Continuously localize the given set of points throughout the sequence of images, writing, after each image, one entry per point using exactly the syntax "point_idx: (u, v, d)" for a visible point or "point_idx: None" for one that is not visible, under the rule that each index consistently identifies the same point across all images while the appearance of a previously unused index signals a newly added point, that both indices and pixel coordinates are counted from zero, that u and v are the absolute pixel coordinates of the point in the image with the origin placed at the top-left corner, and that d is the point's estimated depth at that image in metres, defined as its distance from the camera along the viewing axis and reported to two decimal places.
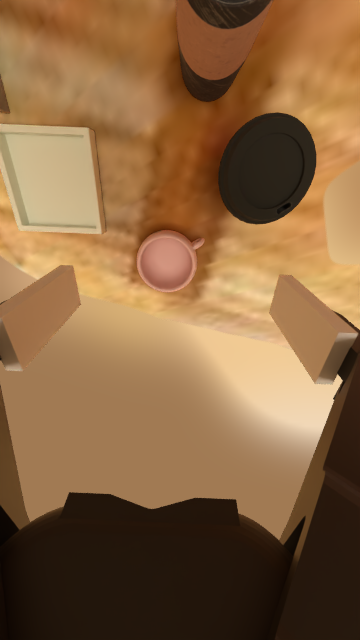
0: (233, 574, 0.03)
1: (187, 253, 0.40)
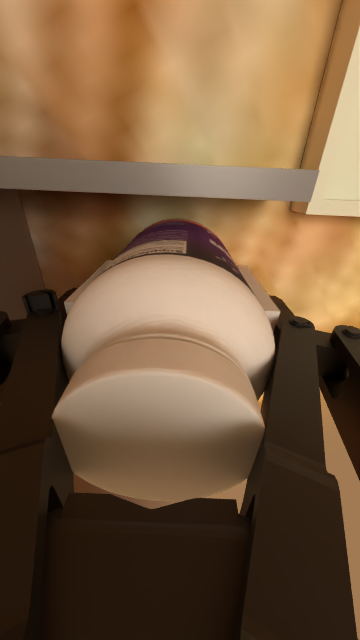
0: (233, 573, 0.03)
1: None
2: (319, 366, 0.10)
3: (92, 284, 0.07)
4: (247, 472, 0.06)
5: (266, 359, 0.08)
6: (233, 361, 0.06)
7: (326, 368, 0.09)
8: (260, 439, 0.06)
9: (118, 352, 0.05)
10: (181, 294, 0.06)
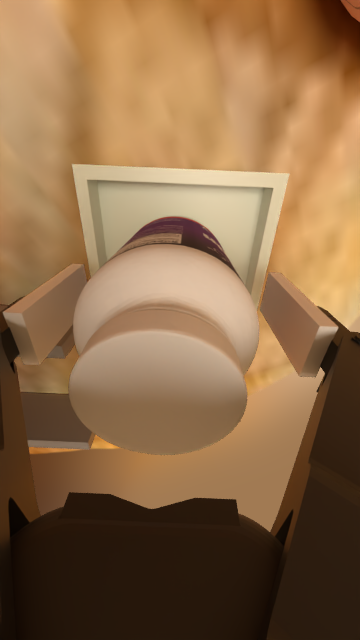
0: (233, 574, 0.03)
1: None
2: None
3: (100, 270, 0.09)
4: (232, 424, 0.08)
5: (250, 334, 0.09)
6: (219, 330, 0.07)
7: None
8: (241, 392, 0.07)
9: (125, 320, 0.06)
10: (176, 275, 0.08)
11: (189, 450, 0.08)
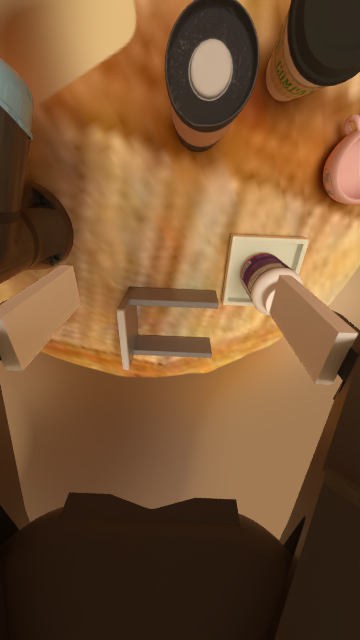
0: (233, 574, 0.03)
1: None
2: None
3: (266, 273, 0.35)
4: None
5: None
6: None
7: None
8: None
9: None
10: None
11: None
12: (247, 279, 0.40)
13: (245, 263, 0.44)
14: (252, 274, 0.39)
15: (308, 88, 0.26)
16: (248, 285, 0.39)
